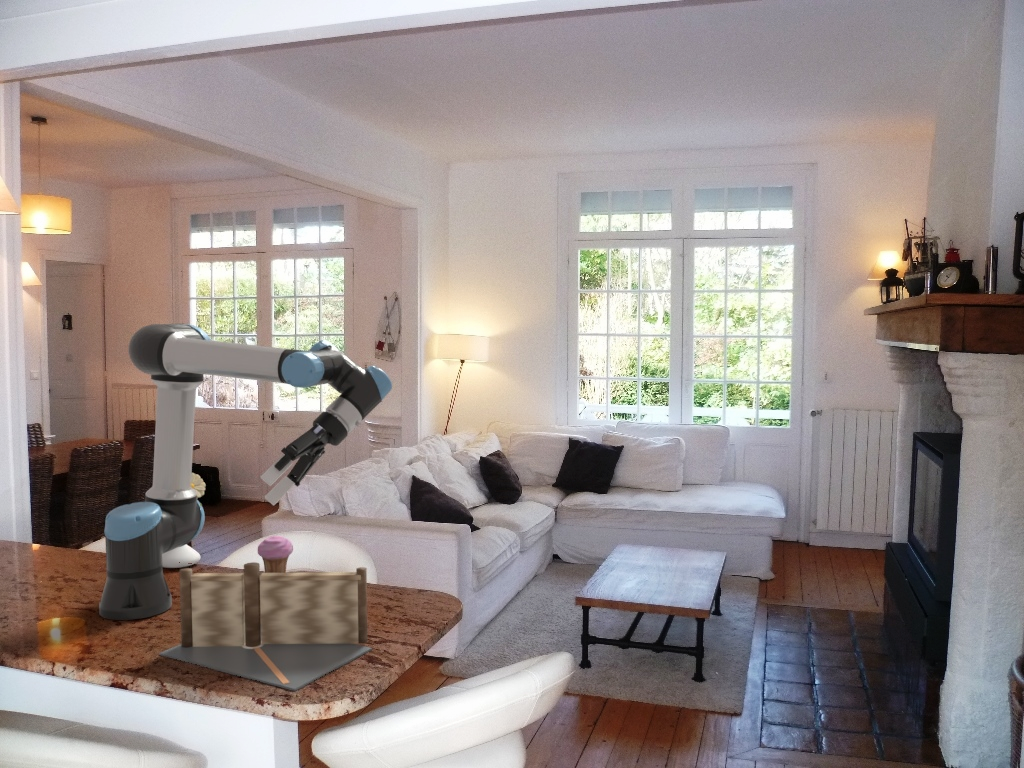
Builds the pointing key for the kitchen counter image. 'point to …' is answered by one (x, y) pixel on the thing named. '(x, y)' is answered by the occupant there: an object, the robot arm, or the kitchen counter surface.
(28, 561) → the kitchen counter surface
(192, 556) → the flower in vase
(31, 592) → the kitchen counter surface
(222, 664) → the card
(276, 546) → the cupcake
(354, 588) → the fence panel
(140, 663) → the kitchen counter surface
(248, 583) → the wooden fence section
